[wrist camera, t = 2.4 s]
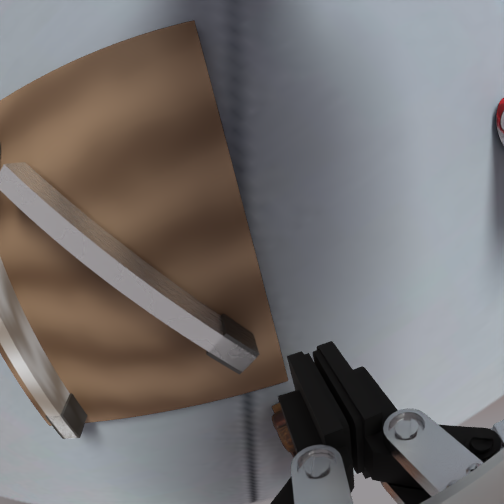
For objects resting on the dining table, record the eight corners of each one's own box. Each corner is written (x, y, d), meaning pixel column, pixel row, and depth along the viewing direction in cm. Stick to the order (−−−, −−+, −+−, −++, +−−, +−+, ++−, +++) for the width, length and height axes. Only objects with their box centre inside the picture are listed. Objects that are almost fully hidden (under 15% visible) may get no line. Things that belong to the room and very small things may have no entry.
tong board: (-61, 151, 17) (-96, 155, 12) (194, 26, 19) (193, -5, 14) (52, 418, 26) (38, 451, 21) (285, 372, 28) (300, 410, 23)
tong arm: (13, 183, 19) (-8, 187, 16) (27, 158, 18) (5, 160, 15) (235, 352, 25) (239, 374, 22) (253, 333, 25) (259, 354, 22)
